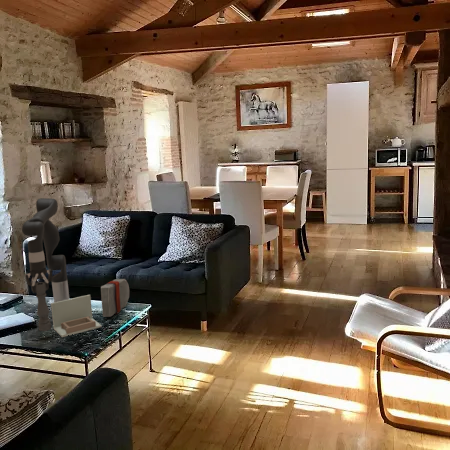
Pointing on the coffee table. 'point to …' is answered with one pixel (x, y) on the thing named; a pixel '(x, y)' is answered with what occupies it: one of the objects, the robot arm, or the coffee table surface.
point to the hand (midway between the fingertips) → (40, 290)
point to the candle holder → (42, 307)
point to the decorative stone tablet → (114, 297)
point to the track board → (73, 316)
